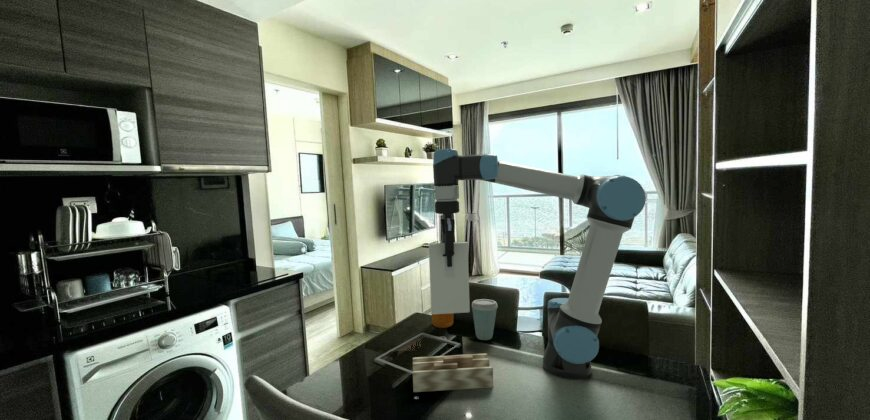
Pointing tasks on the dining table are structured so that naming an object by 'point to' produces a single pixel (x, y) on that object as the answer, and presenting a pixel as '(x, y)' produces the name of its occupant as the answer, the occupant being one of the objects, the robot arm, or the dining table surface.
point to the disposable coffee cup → (484, 317)
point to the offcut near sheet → (460, 360)
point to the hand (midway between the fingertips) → (449, 275)
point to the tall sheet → (449, 280)
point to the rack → (451, 374)
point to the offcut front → (445, 365)
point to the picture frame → (408, 344)
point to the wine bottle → (442, 320)
